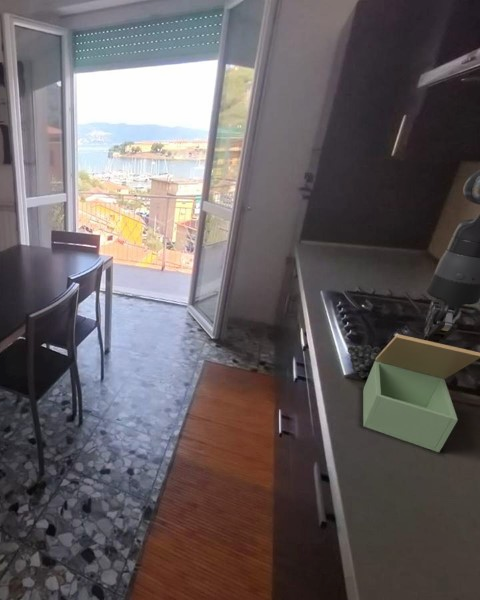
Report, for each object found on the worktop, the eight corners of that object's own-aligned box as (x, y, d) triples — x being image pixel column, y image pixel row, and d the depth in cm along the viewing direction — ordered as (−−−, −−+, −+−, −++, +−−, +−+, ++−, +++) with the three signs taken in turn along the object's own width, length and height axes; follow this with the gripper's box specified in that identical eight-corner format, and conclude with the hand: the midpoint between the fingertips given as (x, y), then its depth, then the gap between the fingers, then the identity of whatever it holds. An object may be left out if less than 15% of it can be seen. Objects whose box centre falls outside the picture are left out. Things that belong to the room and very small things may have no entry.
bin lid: (482, 356, 67) (482, 353, 67) (396, 337, 74) (397, 333, 74) (445, 379, 80) (445, 375, 80) (375, 360, 87) (375, 357, 87)
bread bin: (439, 452, 73) (458, 420, 69) (363, 426, 79) (376, 395, 76) (428, 409, 84) (444, 379, 80) (363, 389, 91) (374, 360, 87)
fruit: (353, 326, 102) (374, 353, 89) (382, 338, 101) (408, 367, 88) (334, 349, 106) (351, 378, 93) (362, 361, 105) (384, 392, 92)
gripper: (498, 290, 62) (455, 372, 69) (480, 269, 71) (444, 342, 79) (440, 281, 66) (404, 359, 73) (430, 262, 75) (400, 333, 83)
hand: (425, 350), depth 76 cm, fingers closed
